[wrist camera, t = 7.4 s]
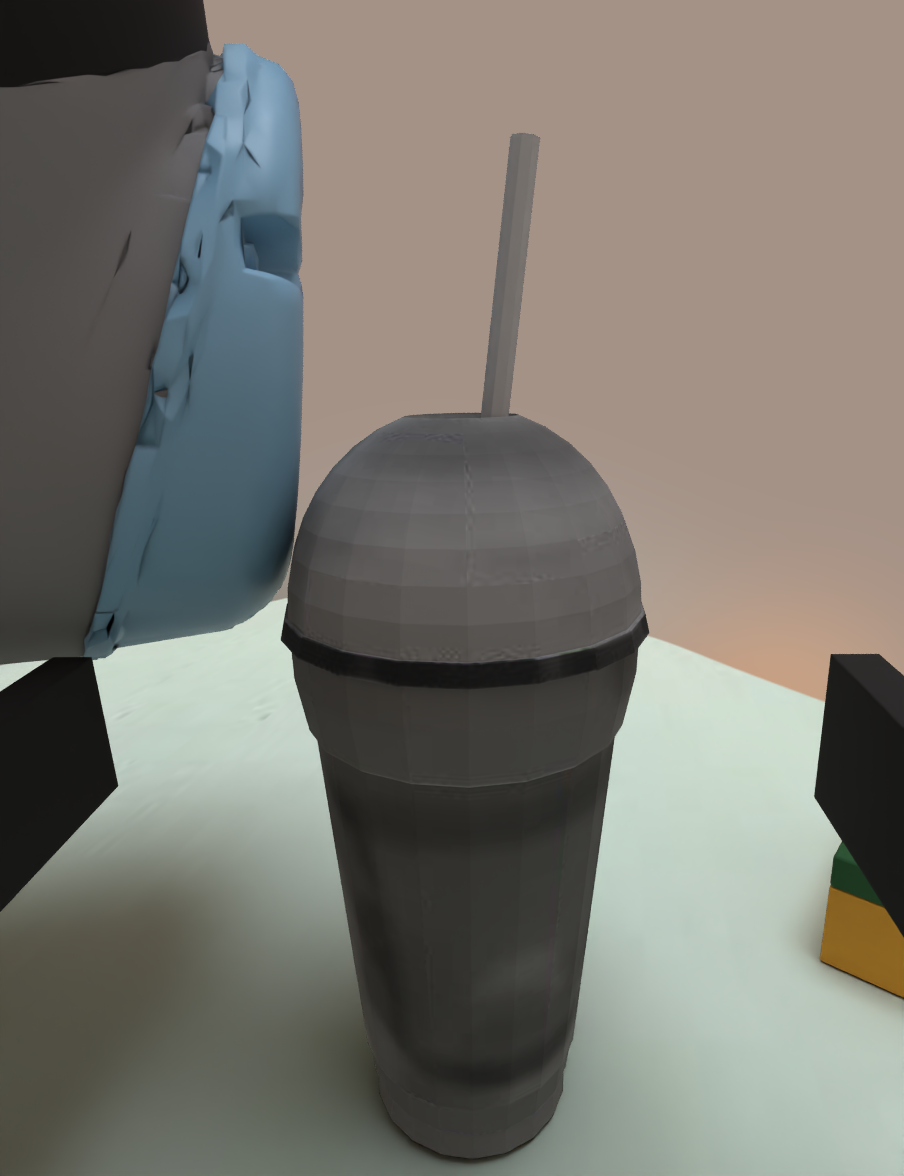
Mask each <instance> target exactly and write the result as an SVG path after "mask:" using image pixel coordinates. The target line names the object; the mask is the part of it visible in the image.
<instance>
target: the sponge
mask: <svg viewBox="0 0 904 1176" xmlns="http://www.w3.org/2000/svg"><path fill="white" fill-rule="evenodd" d="M820 959H821V961H823V962H825V963H827V964H830V965H832V966H834V967H836V968H839V969H841V970H843V971H845V972H847V973H850V974H852V975H854V976H856V977H859V978H861V979H863V980H865V981H868V982H870V983H872V984H874V985H876V986H879V987H881V988H883V989H885V990H888V991H890V992H892V993H894V994H897V995H899V996H901V997H903V998H904V937H903V936H902V934H901V933H900V931H899V930H898V928H897V926H896V925H895V923H894V922H893V920H892V919H891V917H890V915H889V914H888V912H887V911H886V909H885V907H884V906H883V904H882V903H881V901H880V900H879V898H878V896H877V895H876V893H875V892H874V890H873V889H872V887H871V885H870V884H869V882H868V881H867V879H866V878H865V876H864V874H863V873H862V871H861V870H860V868H859V866H858V865H857V863H856V862H855V860H854V859H853V857H852V855H851V854H850V852H849V851H848V849H847V848H846V846H845V844H844V843H843V841H842V843H841V845H840V846H839V848H838V850H837V852H836V854H835V855H834V859H833V867H832V874H831V886H830V888H829V895H828V903H827V910H826V918H825V925H824V933H823V940H822V948H821V955H820Z"/></svg>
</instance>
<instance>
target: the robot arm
mask: <svg viewBox="0 0 904 1176" xmlns="http://www.w3.org/2000/svg"><path fill="white" fill-rule="evenodd" d="M302 202H303V161H302V139H301V123H300V112H299V103H298V99H297V95H296V92H295V88H294V84H293V82H292V80H291V79H290V77H289V76H288V75H287V73H286V72H285V71H284V70H283V69H282V68H281V66H280V65H279V64H277V63H275V62H272V61H270V60H267V59H265V58H262V57H260V56H258V55H256V54H255V53H254V52H253V51H252V50H251V49H250V48H249V47H248V46H247V45H245V44H224V47H223V53H222V54H221V55H220V56H218V55H214V54H213V51H212V49H211V45H210V42H209V38H208V32H207V25H206V18H205V11H204V4H203V0H0V664H11V663H21V662H32V661H42V660H48V661H46V662H45V663H43V664H42V665H40V666H39V667H37V668H36V669H34V670H33V671H31V672H30V673H28V674H26V675H25V676H23V677H22V678H20V679H19V680H17V681H16V682H14V683H13V684H11V685H10V686H8V687H7V688H5V689H3V690H2V691H0V912H1V911H2V910H3V909H4V907H5V906H6V905H7V904H8V903H9V902H10V901H11V900H12V899H13V898H14V897H15V896H16V895H17V894H18V893H19V891H20V890H21V889H22V888H23V887H24V886H25V885H26V884H27V883H28V882H29V881H30V880H31V879H32V878H33V876H34V875H35V874H36V873H37V872H38V871H39V870H40V869H41V868H42V867H43V866H44V865H45V864H46V863H47V861H48V860H49V859H50V858H51V857H52V856H53V855H54V854H55V853H56V852H57V851H58V850H59V849H60V848H61V847H62V845H63V844H64V843H65V842H66V841H67V840H68V839H69V838H70V837H71V836H72V835H73V834H74V833H75V832H76V830H77V829H78V828H79V827H80V826H81V825H82V824H83V823H84V822H85V821H86V820H87V819H88V818H89V817H90V815H91V814H92V813H93V812H94V811H95V810H96V809H97V808H98V807H99V806H100V805H101V804H102V803H103V802H104V801H105V799H106V798H107V797H108V796H109V795H110V794H111V793H112V792H113V791H114V790H115V789H116V788H117V787H118V782H117V778H116V773H115V768H114V763H113V758H112V753H111V748H110V744H109V739H108V734H107V729H106V724H105V719H104V715H103V710H102V705H101V700H100V695H99V690H98V685H97V681H96V676H95V671H94V666H93V661H92V660H97V659H98V658H106V657H107V656H109V655H111V654H112V653H113V652H114V651H115V650H116V648H120V647H126V646H132V645H138V644H144V643H150V642H156V641H162V640H168V639H175V638H181V637H187V636H193V635H199V634H206V633H212V632H218V631H224V630H227V629H231V628H233V627H234V626H235V625H238V624H240V623H243V622H244V621H246V620H248V619H250V618H251V617H253V616H254V615H255V614H256V613H257V612H258V611H260V610H261V609H263V608H264V607H265V606H266V605H267V604H268V603H269V602H270V601H271V600H272V599H273V597H274V595H275V594H276V593H277V591H278V590H279V589H280V588H281V586H282V584H283V582H284V580H285V577H286V575H287V571H288V568H289V565H290V560H291V556H292V549H293V543H294V532H295V520H296V510H297V497H298V483H299V463H300V444H301V418H302V417H301V416H302V382H303V292H302V286H301V282H300V278H299V275H298V273H299V270H300V266H301V262H302V236H301V210H302ZM814 797H815V799H816V800H817V802H818V803H819V805H820V807H821V808H822V810H823V811H824V813H825V814H826V816H827V818H828V819H829V821H830V822H831V824H832V826H833V827H834V829H835V830H836V832H837V833H838V835H839V837H840V838H841V840H842V841H843V843H844V844H845V846H846V848H847V849H848V851H849V852H850V854H851V855H852V857H853V859H854V860H855V862H856V863H857V865H858V866H859V868H860V870H861V871H862V873H863V874H864V876H865V878H866V879H867V881H868V882H869V884H870V885H871V887H872V889H873V890H874V892H875V893H876V895H877V896H878V898H879V900H880V901H881V903H882V904H883V906H884V907H885V909H886V911H887V912H888V914H889V915H890V917H891V919H892V920H893V922H894V923H895V925H896V926H897V928H898V930H899V931H900V933H901V934H902V936H903V937H904V676H903V675H902V674H901V673H900V672H899V671H898V670H897V669H895V668H894V667H893V666H892V665H891V664H890V663H888V662H887V661H886V660H885V659H884V658H883V657H882V656H881V655H879V654H831V658H830V667H829V675H828V684H827V692H826V700H825V709H824V717H823V726H822V735H821V743H820V752H819V760H818V769H817V777H816V786H815V794H814Z"/></svg>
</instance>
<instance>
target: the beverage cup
mask: <svg viewBox="0 0 904 1176" xmlns="http://www.w3.org/2000/svg"><path fill="white" fill-rule="evenodd" d="M539 142H540V137H538V136H536V135H534V134H526V133H517V134H512V136H511V139H510V147H509V156H508V157H509V158H508V167H507V175H506V185H505V194H504V204H503V213H502V222H501V232H500V242H499V252H498V260H497V270H496V279H495V289H494V298H493V307H492V317H491V326H490V336H489V345H488V354H487V364H486V373H485V383H484V392H483V401H482V411H481V413H444V414H423V415H410V416H404V417H402V418H400V419H398V420H396V421H394V422H392V423H390V424H388V425H386V426H384V427H382V428H379V429H377V430H376V431H375V432H373V433H372V434H370V435H369V436H368V437H366V438H365V439H364V440H362V441H361V442H359V443H358V444H357V445H355V446H354V447H353V448H352V449H351V450H350V451H349V452H348V453H347V454H346V455H345V456H344V457H343V458H342V459H341V460H340V461H339V462H338V463H337V464H336V465H335V466H334V467H333V468H332V470H331V471H330V472H329V474H328V475H327V477H326V478H325V480H324V481H323V482H322V484H321V485H320V487H319V488H318V489H317V491H316V493H315V495H314V497H313V499H312V501H311V503H310V505H309V507H308V509H307V511H306V513H305V515H304V517H303V520H302V523H301V526H300V529H299V533H298V536H297V539H296V542H295V546H294V551H293V557H292V563H291V570H290V577H289V583H288V603H287V606H286V612H285V618H284V624H283V630H282V636H281V641H282V642H283V643H284V644H285V645H286V646H287V647H288V649H289V650H290V651H291V652H292V659H293V668H294V678H295V682H296V685H297V689H298V692H299V695H300V699H301V702H302V706H303V709H304V712H305V716H306V719H307V723H308V726H309V729H310V731H311V733H312V734H313V735H314V737H315V738H316V739H317V741H318V746H319V752H320V758H321V764H322V770H323V776H324V782H325V788H326V794H327V800H328V806H329V812H330V818H331V824H332V830H333V836H334V842H335V848H336V854H337V860H338V866H339V872H340V878H341V884H342V890H343V896H344V902H345V908H346V914H347V920H348V926H349V932H350V938H351V944H352V950H353V956H354V962H355V968H356V974H357V980H358V986H359V992H360V998H361V1004H362V1010H363V1016H364V1022H365V1028H366V1034H367V1040H368V1044H369V1046H370V1048H371V1050H372V1053H373V1057H374V1062H375V1067H376V1071H377V1073H378V1079H379V1091H380V1096H381V1098H382V1100H383V1102H384V1104H385V1106H386V1109H387V1111H388V1113H389V1115H390V1117H391V1119H392V1120H393V1121H394V1122H395V1123H396V1124H397V1125H398V1126H399V1127H400V1128H401V1129H402V1130H403V1131H404V1132H405V1133H406V1134H407V1135H408V1136H409V1137H410V1138H411V1139H412V1140H413V1141H415V1142H417V1143H419V1144H421V1145H423V1146H425V1147H427V1148H429V1149H431V1150H433V1151H435V1152H437V1153H439V1154H442V1155H450V1156H457V1157H464V1158H471V1159H475V1158H481V1157H486V1156H492V1155H497V1154H503V1153H506V1152H508V1151H510V1150H512V1149H514V1148H516V1147H517V1146H519V1145H521V1144H523V1143H525V1142H526V1141H528V1140H530V1139H532V1138H533V1137H534V1136H535V1135H536V1134H537V1133H538V1132H539V1131H540V1130H541V1128H542V1127H543V1126H544V1125H545V1124H546V1123H547V1122H548V1121H549V1119H550V1118H551V1117H552V1116H553V1114H554V1111H555V1109H556V1106H557V1103H558V1101H559V1098H560V1096H561V1093H562V1091H563V1071H564V1069H565V1066H566V1061H567V1055H568V1050H569V1047H570V1045H571V1042H572V1040H573V1034H574V1027H575V1020H576V1013H577V1005H578V998H579V991H580V984H581V976H582V969H583V962H584V955H585V948H586V940H587V933H588V926H589V919H590V911H591V904H592V897H593V890H594V882H595V875H596V868H597V861H598V853H599V846H600V839H601V832H602V825H603V817H604V810H605V803H606V796H607V788H608V781H609V774H610V767H611V759H612V752H613V745H614V738H615V735H616V734H617V732H618V731H619V729H620V727H621V726H622V724H623V720H624V716H625V713H626V709H627V705H628V701H629V697H630V694H631V690H632V686H633V682H634V678H635V675H636V668H637V656H638V647H639V646H640V645H641V643H642V642H643V641H644V639H645V638H646V637H647V635H648V634H649V629H648V624H647V620H646V614H645V611H644V608H643V605H642V602H641V581H640V575H639V569H638V564H637V558H636V553H635V549H634V546H633V544H632V540H631V538H630V534H629V532H628V528H627V526H626V523H625V520H624V517H623V515H622V512H621V510H620V508H619V506H618V505H617V503H616V501H615V499H614V497H613V495H612V493H611V491H610V489H609V488H608V486H607V484H606V483H605V482H604V480H603V479H602V478H601V477H600V475H599V474H598V472H597V471H596V470H595V469H594V467H593V466H592V465H591V463H590V462H589V461H588V460H587V459H586V458H584V456H583V455H581V454H580V453H579V452H578V451H577V450H576V449H575V448H574V447H573V446H572V445H571V444H570V443H569V442H567V441H566V440H564V439H563V438H561V437H560V436H558V435H557V434H555V433H554V432H552V431H551V430H549V429H548V428H546V427H545V426H543V425H540V424H538V423H536V422H534V421H531V420H529V419H527V418H525V417H523V416H520V415H518V414H509V407H510V398H511V389H512V380H513V371H514V363H515V353H516V345H517V336H518V327H519V319H520V309H521V301H522V292H523V283H524V274H525V265H526V257H527V248H528V238H529V231H530V222H531V213H532V204H533V195H534V186H535V178H536V169H537V160H538V151H539Z"/></svg>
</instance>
